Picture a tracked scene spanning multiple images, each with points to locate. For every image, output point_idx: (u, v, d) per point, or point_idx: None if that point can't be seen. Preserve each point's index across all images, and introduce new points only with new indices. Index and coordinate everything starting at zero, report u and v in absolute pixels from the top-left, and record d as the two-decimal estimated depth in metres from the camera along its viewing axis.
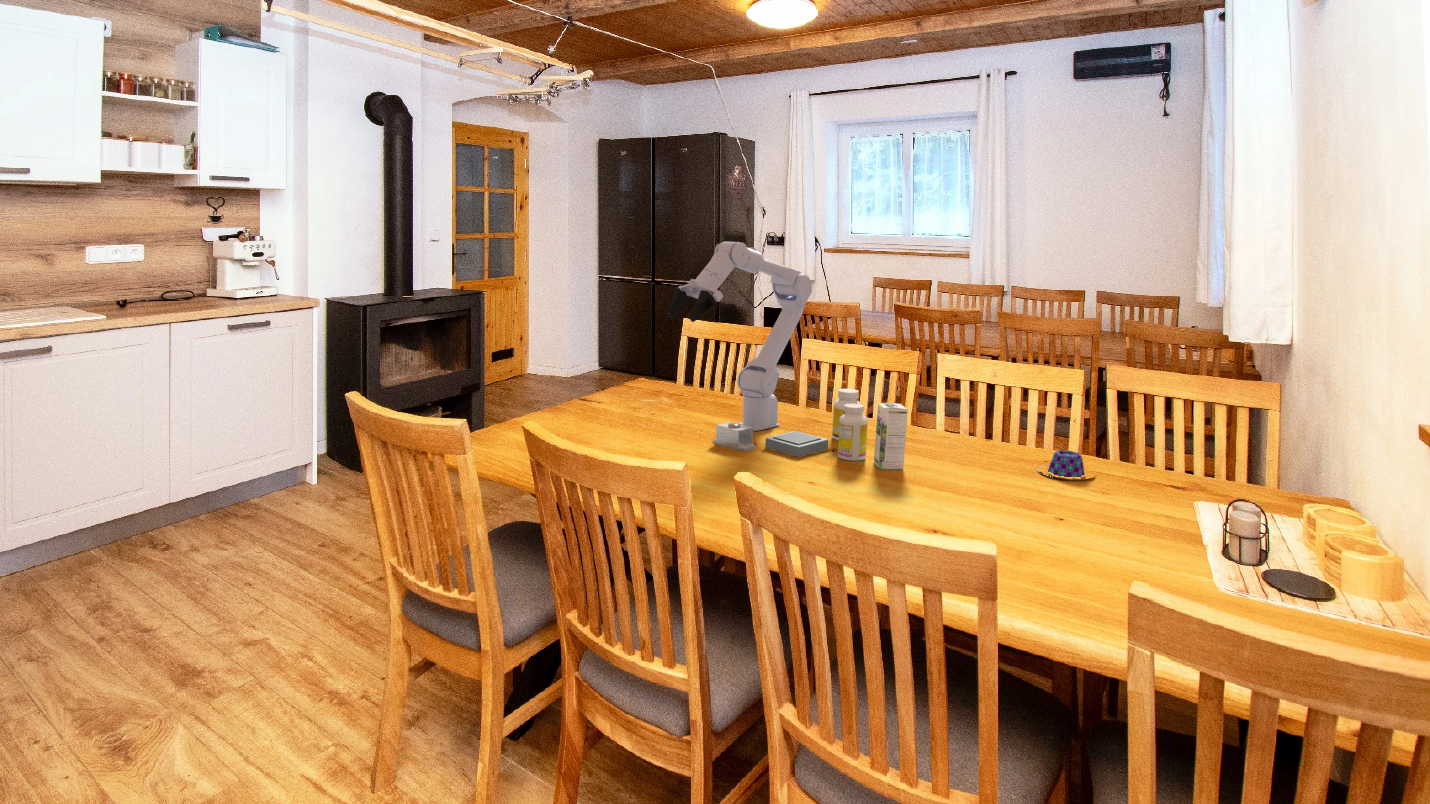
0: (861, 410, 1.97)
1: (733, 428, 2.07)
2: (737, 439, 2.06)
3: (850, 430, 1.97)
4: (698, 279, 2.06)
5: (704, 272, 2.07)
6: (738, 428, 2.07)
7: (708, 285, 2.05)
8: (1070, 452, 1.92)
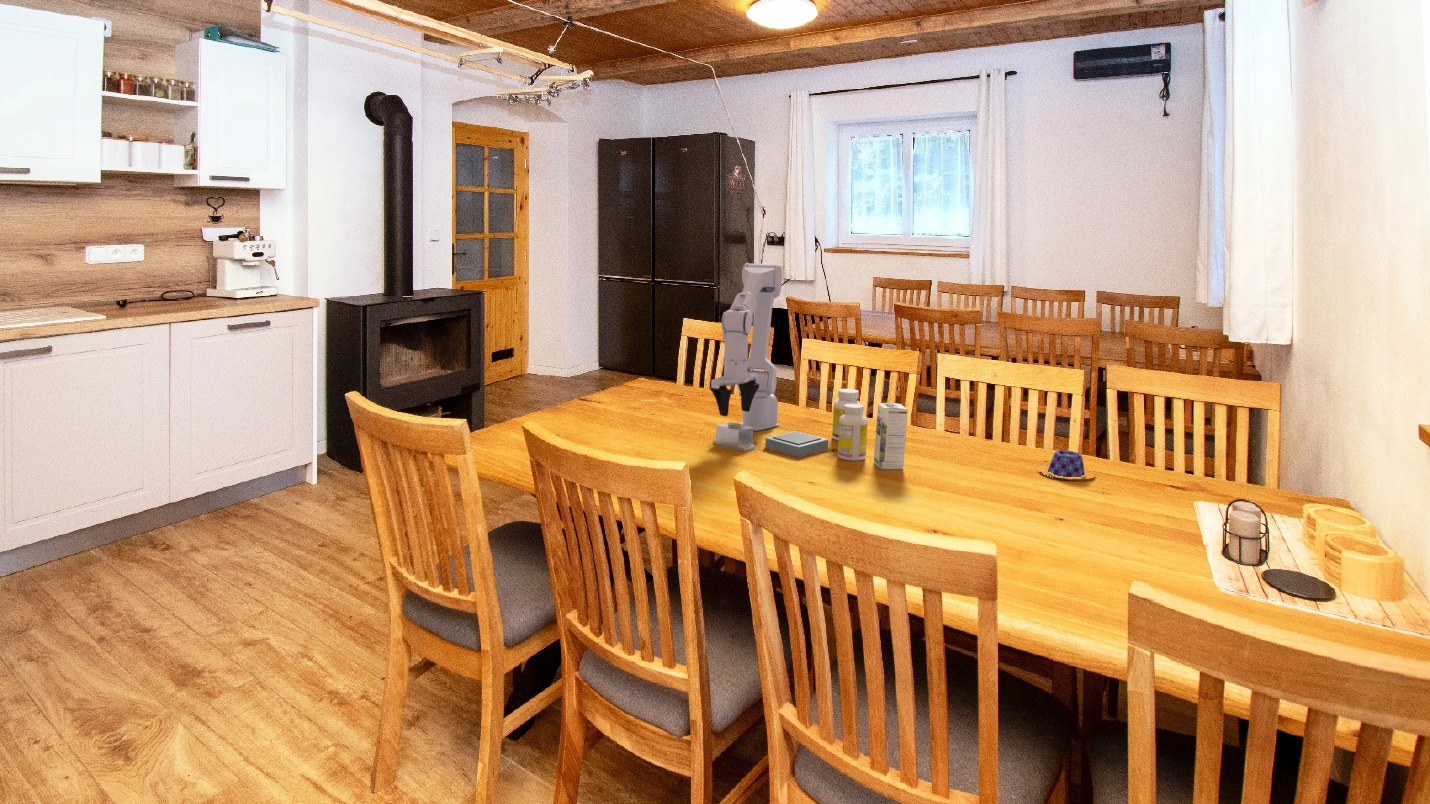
0: (861, 410, 1.97)
1: (733, 428, 2.07)
2: (737, 439, 2.06)
3: (850, 430, 1.97)
4: (744, 374, 2.05)
5: (744, 364, 2.04)
6: (738, 428, 2.07)
7: None
8: (1070, 452, 1.92)
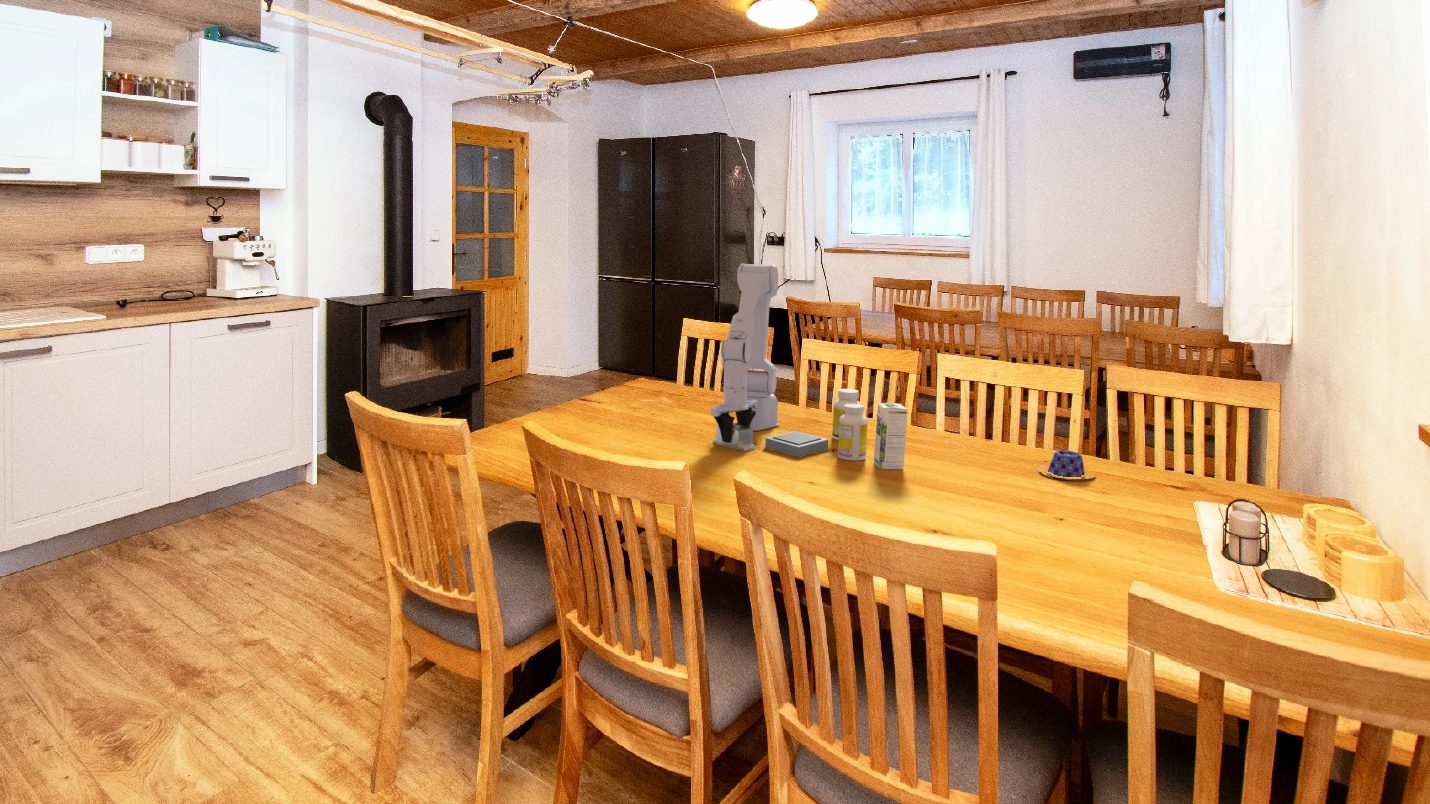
0: (861, 410, 1.97)
1: (733, 428, 2.07)
2: (737, 439, 2.06)
3: (851, 430, 1.97)
4: (743, 401, 2.06)
5: (743, 391, 2.06)
6: (738, 428, 2.07)
7: None
8: (1070, 452, 1.92)
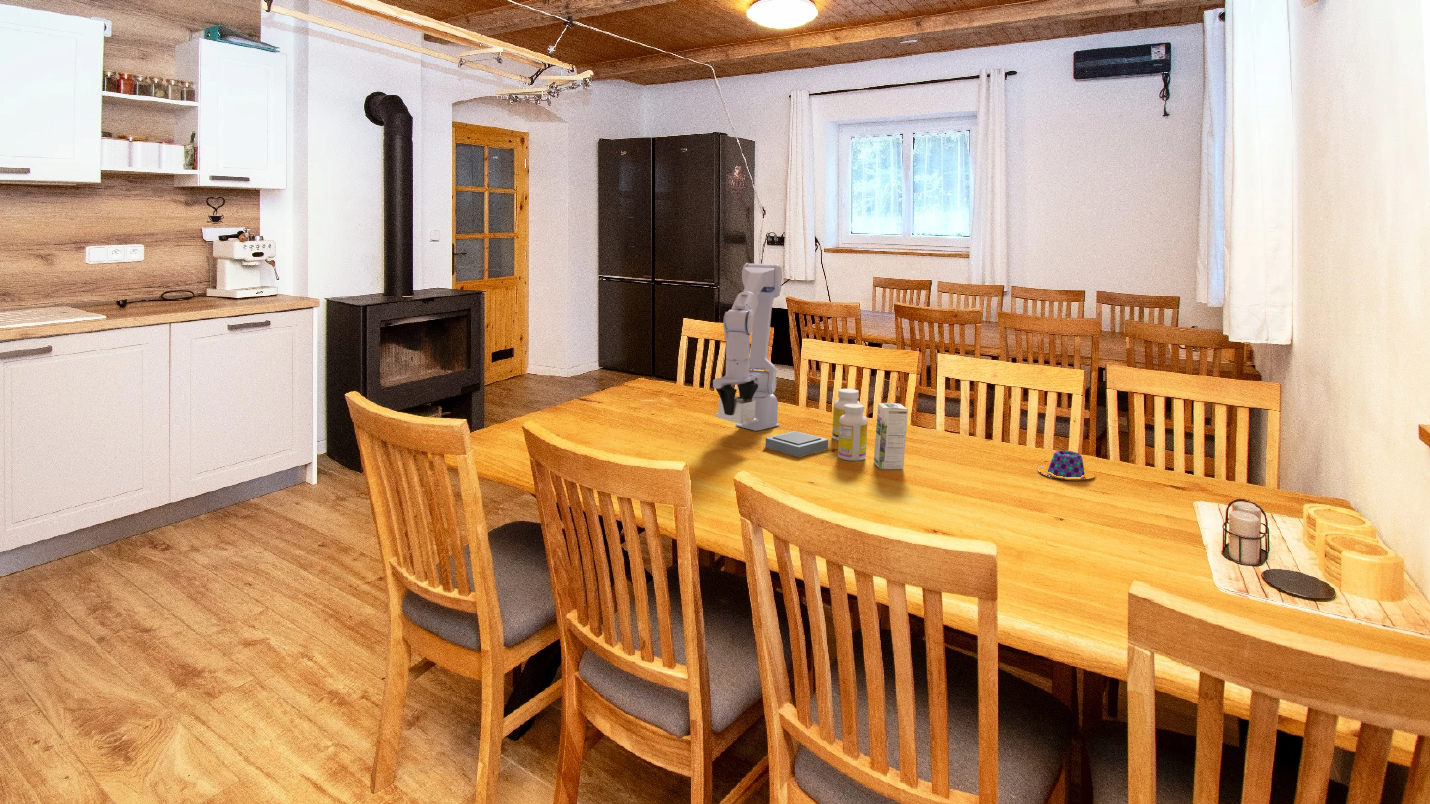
0: (861, 410, 1.97)
1: (735, 401, 2.06)
2: (740, 412, 2.04)
3: (851, 430, 1.97)
4: (745, 373, 2.05)
5: (746, 363, 2.04)
6: (740, 401, 2.06)
7: None
8: (1070, 452, 1.92)
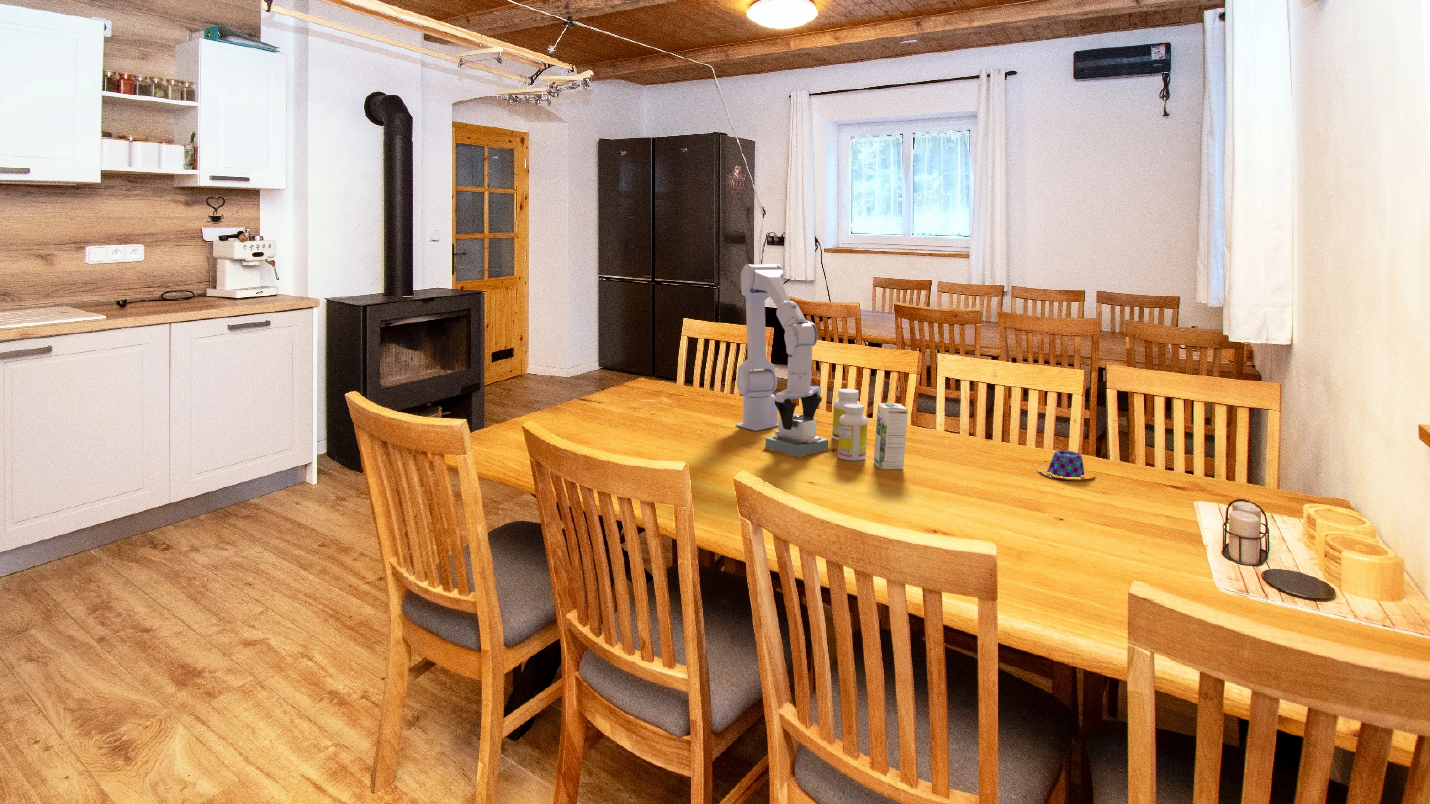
0: (861, 410, 1.97)
1: (797, 419, 2.05)
2: (801, 430, 2.03)
3: (850, 430, 1.97)
4: (808, 387, 2.03)
5: (808, 377, 2.03)
6: (802, 419, 2.05)
7: None
8: (1071, 452, 1.91)
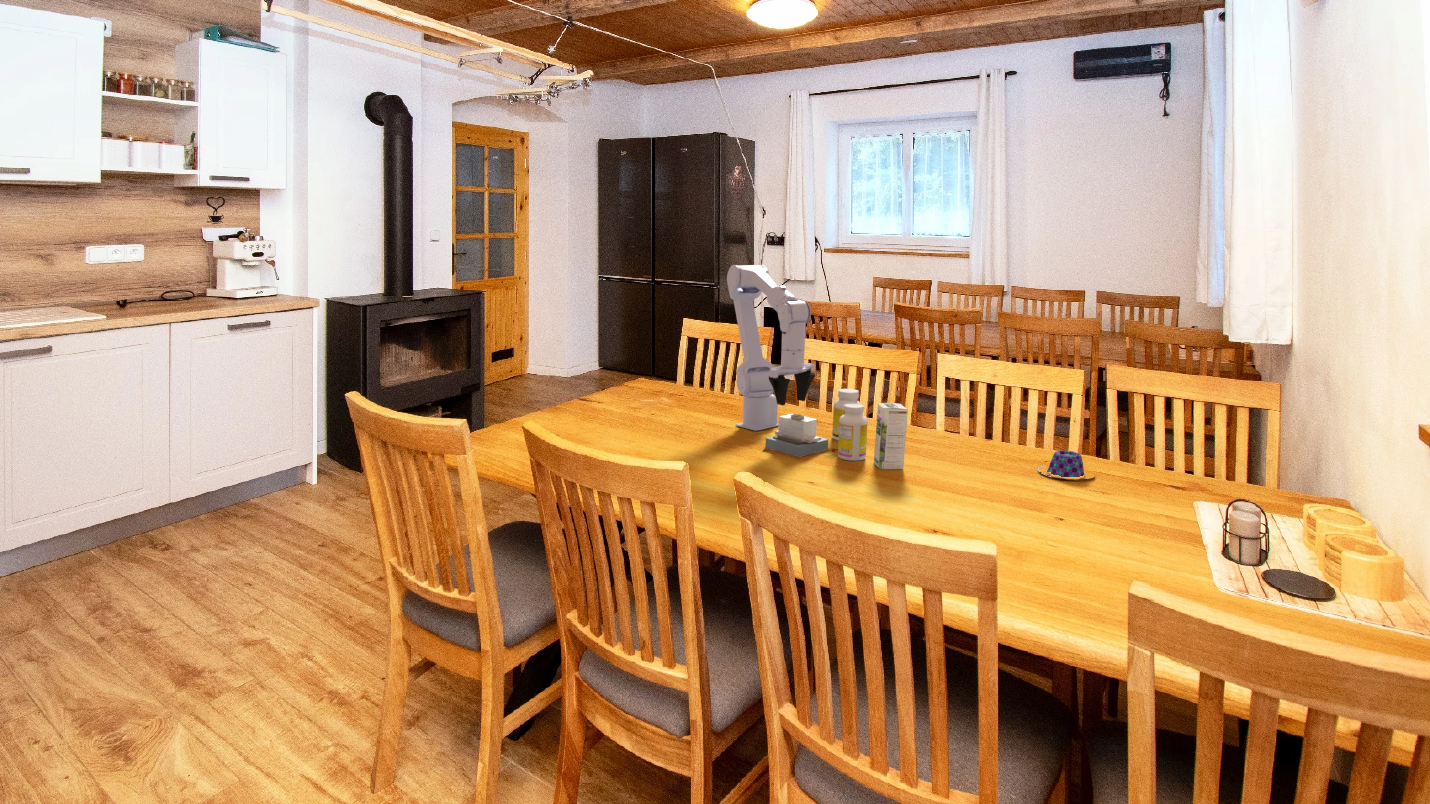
0: (861, 410, 1.97)
1: (797, 419, 2.05)
2: (801, 430, 2.03)
3: (850, 430, 1.97)
4: (801, 363, 2.08)
5: (802, 353, 2.07)
6: (802, 419, 2.05)
7: None
8: (1071, 452, 1.91)
